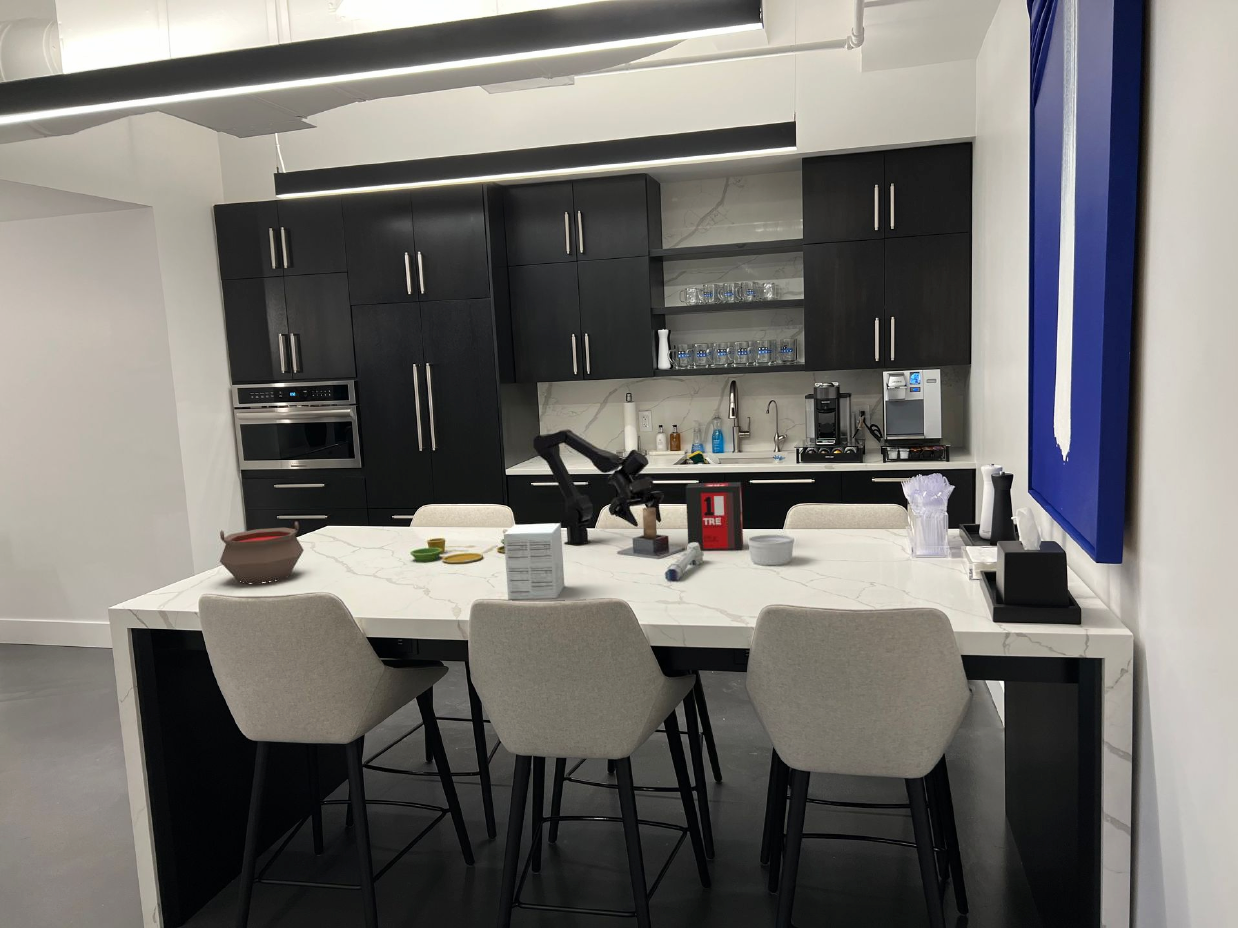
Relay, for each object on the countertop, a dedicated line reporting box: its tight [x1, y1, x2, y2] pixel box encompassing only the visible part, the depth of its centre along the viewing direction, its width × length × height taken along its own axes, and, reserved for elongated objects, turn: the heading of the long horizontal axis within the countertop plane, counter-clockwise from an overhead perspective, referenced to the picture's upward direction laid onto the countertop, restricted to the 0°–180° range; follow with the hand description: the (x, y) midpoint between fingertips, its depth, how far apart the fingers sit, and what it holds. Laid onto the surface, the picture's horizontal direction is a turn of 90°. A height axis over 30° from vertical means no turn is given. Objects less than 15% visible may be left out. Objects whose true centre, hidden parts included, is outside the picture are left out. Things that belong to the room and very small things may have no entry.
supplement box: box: [503, 522, 566, 600], centre depth 244 cm, size 13×13×18 cm
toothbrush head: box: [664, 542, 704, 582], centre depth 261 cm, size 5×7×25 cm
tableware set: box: [410, 529, 509, 565], centre depth 298 cm, size 41×28×6 cm
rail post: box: [642, 507, 658, 539], centre depth 287 cm, size 4×4×13 cm
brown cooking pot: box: [219, 521, 305, 584], centre depth 279 cm, size 24×24×16 cm
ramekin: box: [747, 533, 795, 566], centre depth 266 cm, size 13×13×7 cm
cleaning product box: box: [685, 481, 744, 552], centre depth 288 cm, size 16×9×20 cm, turn 80°
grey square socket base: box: [616, 534, 686, 560], centre depth 288 cm, size 16×14×5 cm
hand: (648, 523), depth 287 cm, fingers open, 9 cm apart
